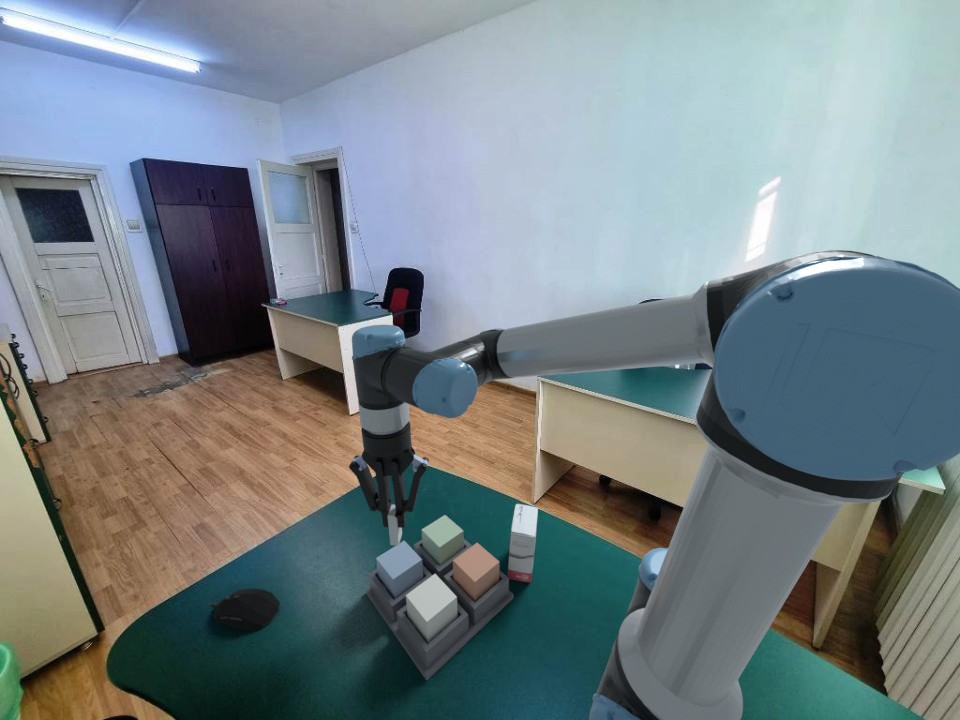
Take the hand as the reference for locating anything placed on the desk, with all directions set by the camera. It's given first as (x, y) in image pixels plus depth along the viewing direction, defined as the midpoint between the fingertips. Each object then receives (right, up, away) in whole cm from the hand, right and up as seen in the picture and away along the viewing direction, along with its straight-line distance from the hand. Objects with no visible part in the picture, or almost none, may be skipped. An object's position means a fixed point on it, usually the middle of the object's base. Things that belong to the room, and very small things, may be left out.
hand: (396, 539), depth 67 cm
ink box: (+24, -11, +11) cm, 28 cm away
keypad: (+7, -13, +4) cm, 15 cm away
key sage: (+7, -7, +10) cm, 14 cm away
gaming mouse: (-29, -14, +2) cm, 33 cm away
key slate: (0, -9, +3) cm, 10 cm away
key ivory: (+7, -11, -4) cm, 14 cm away
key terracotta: (+14, -9, +3) cm, 17 cm away
